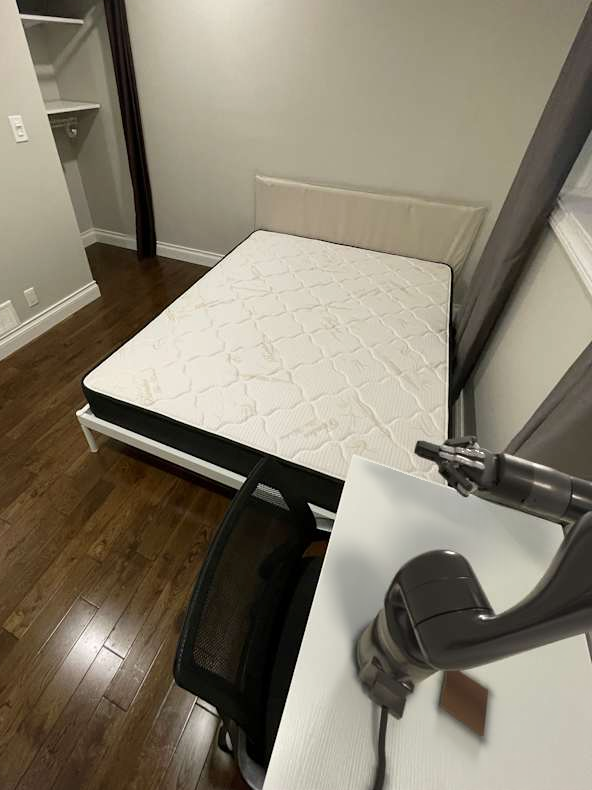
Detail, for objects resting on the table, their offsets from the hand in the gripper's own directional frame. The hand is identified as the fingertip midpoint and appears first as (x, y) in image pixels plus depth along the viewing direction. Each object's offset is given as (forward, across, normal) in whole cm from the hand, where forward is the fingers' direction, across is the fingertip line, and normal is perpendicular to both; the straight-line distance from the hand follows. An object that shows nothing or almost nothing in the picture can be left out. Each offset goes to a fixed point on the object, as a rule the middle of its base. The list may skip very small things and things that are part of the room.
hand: (415, 446), depth 67 cm
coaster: (-16, +24, +26) cm, 39 cm away
